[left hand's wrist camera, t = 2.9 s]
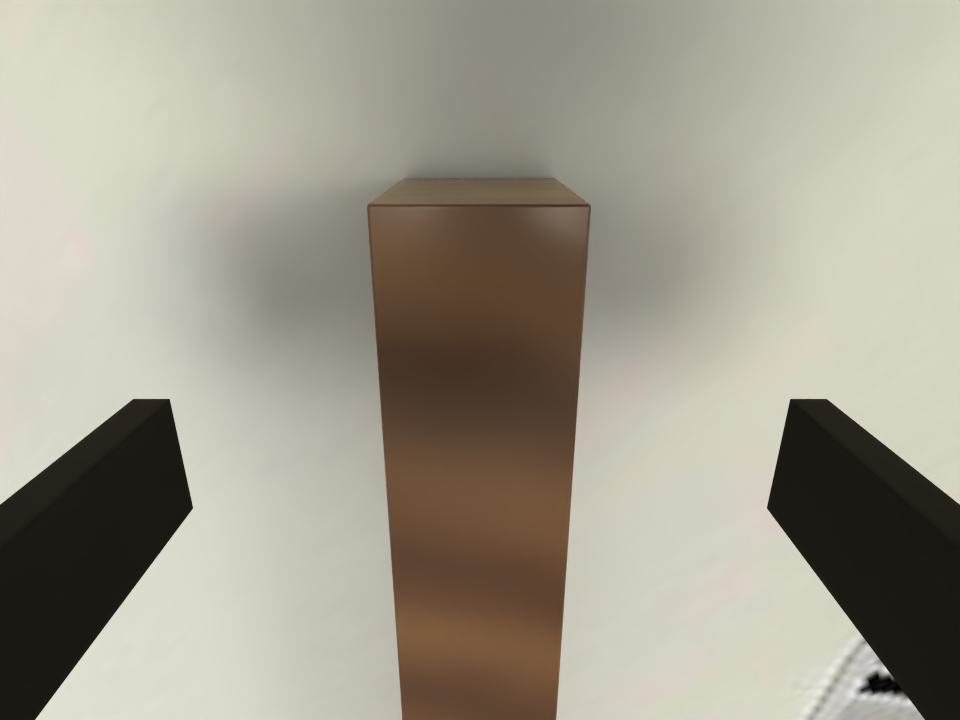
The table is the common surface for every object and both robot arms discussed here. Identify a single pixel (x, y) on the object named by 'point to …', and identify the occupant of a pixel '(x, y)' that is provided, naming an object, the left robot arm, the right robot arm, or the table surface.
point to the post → (479, 434)
